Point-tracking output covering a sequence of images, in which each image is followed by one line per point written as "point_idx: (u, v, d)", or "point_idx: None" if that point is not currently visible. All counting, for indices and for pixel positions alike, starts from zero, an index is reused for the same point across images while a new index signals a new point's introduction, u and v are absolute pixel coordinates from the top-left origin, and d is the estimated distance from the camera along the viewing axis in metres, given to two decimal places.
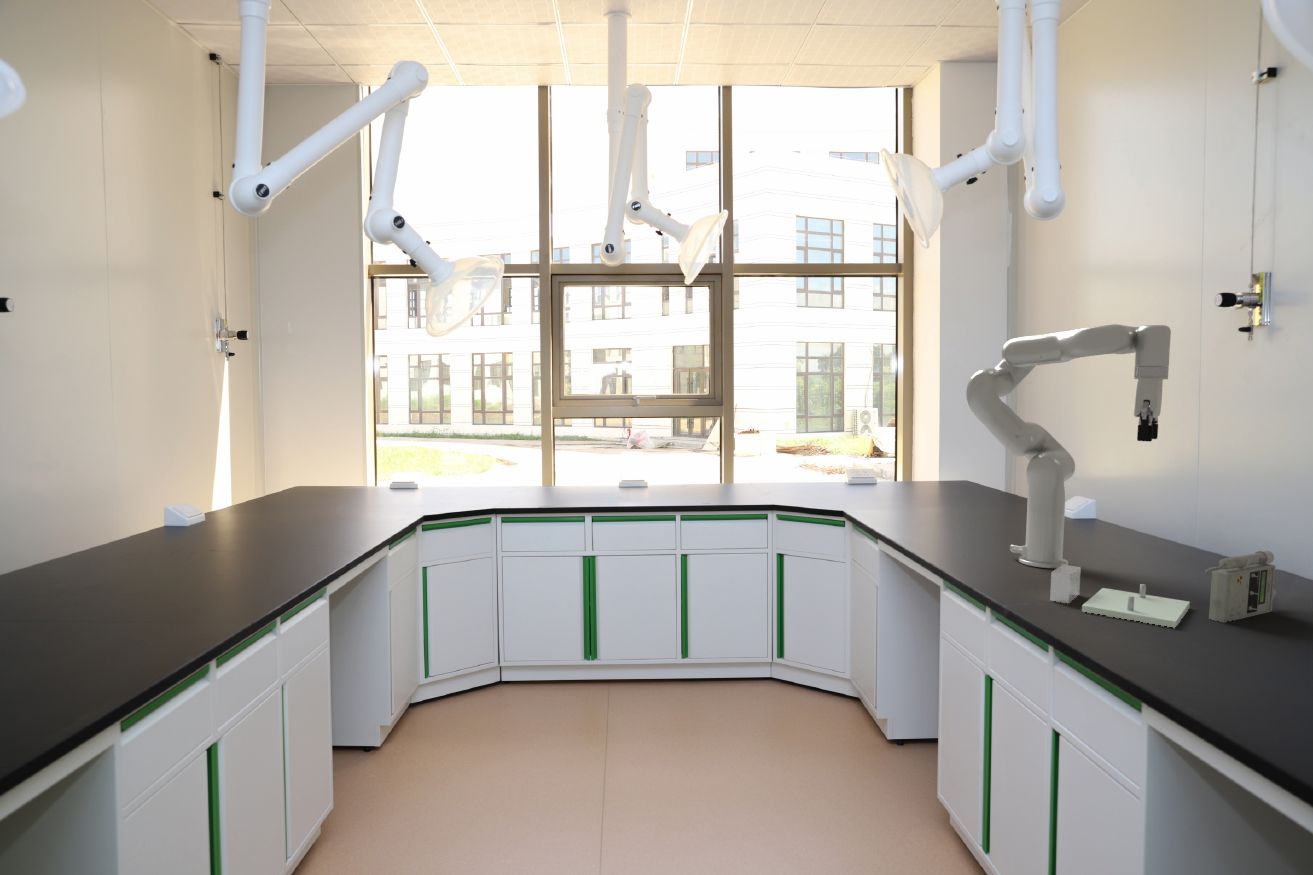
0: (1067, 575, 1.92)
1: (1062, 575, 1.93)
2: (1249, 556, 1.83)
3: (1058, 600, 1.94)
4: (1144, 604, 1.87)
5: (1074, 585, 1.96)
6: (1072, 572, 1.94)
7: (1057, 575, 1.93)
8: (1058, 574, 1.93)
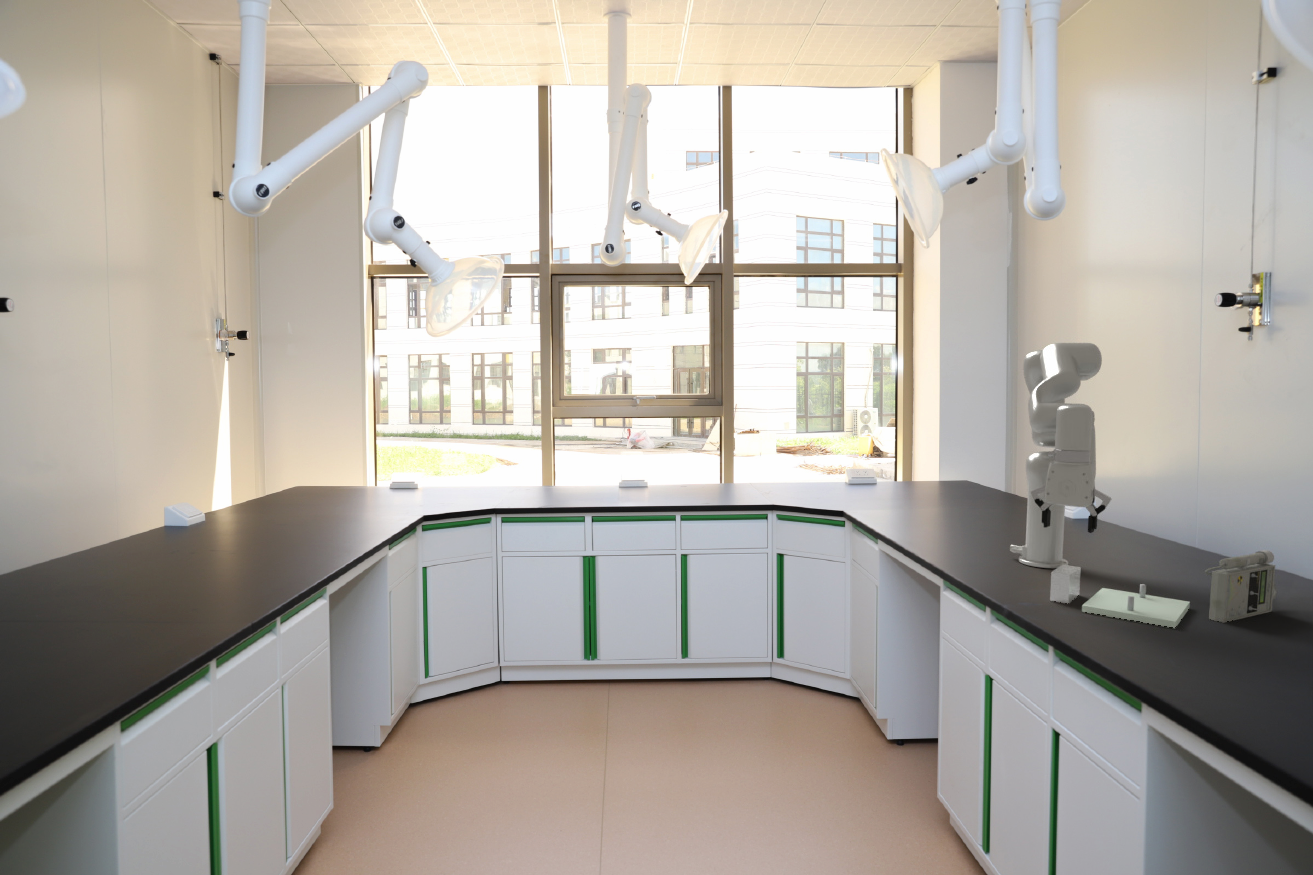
0: (1067, 575, 1.92)
1: (1062, 575, 1.93)
2: (1249, 556, 1.83)
3: (1058, 600, 1.94)
4: (1144, 604, 1.87)
5: (1074, 585, 1.96)
6: (1072, 572, 1.94)
7: (1057, 575, 1.93)
8: (1058, 574, 1.93)
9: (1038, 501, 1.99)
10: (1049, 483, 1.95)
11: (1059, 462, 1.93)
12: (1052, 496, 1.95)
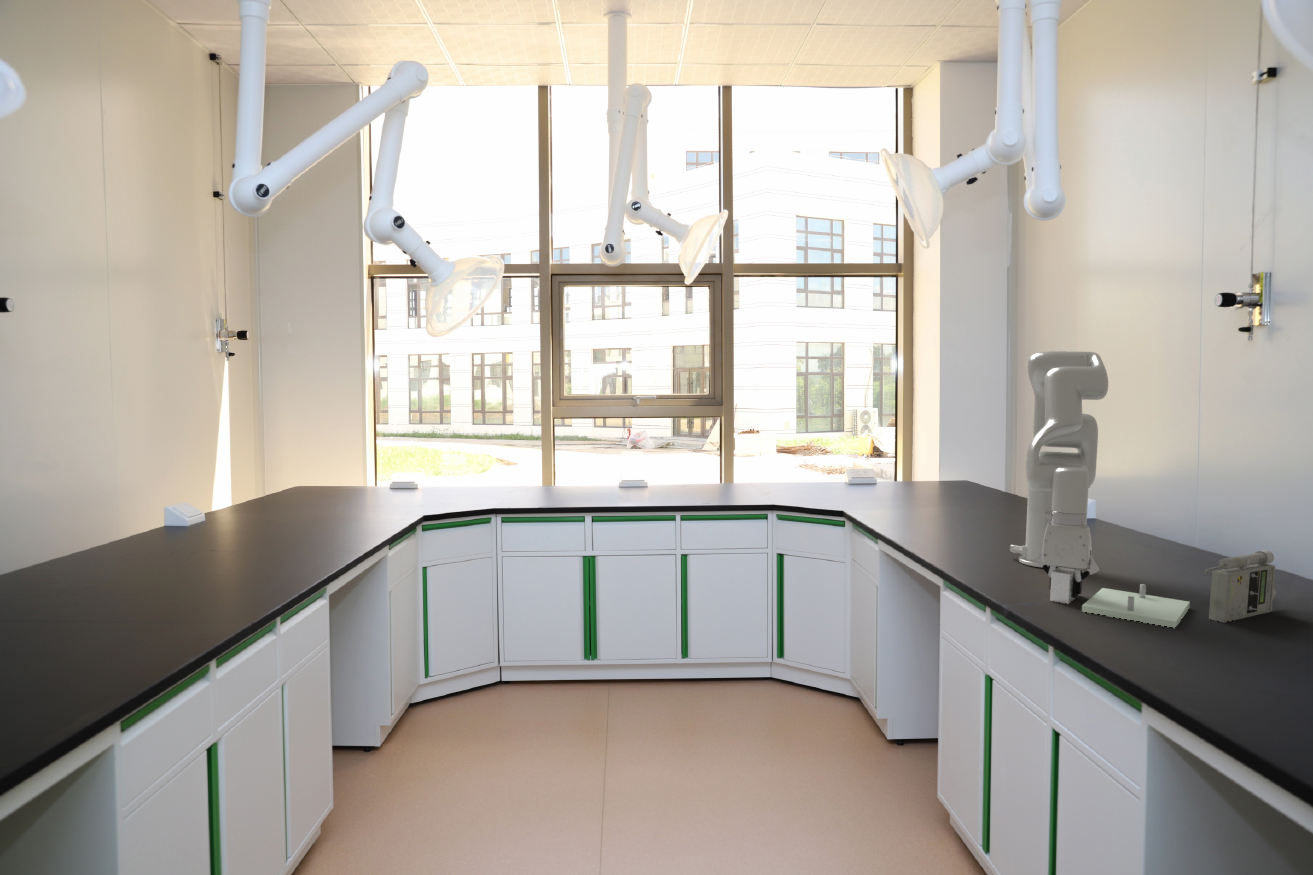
0: (1067, 575, 1.92)
1: (1062, 575, 1.93)
2: (1249, 556, 1.83)
3: (1058, 600, 1.93)
4: (1144, 604, 1.87)
5: None
6: (1072, 572, 1.94)
7: (1057, 575, 1.93)
8: (1058, 574, 1.93)
9: (1046, 567, 1.99)
10: (1046, 544, 1.97)
11: (1056, 524, 1.95)
12: (1049, 557, 1.96)
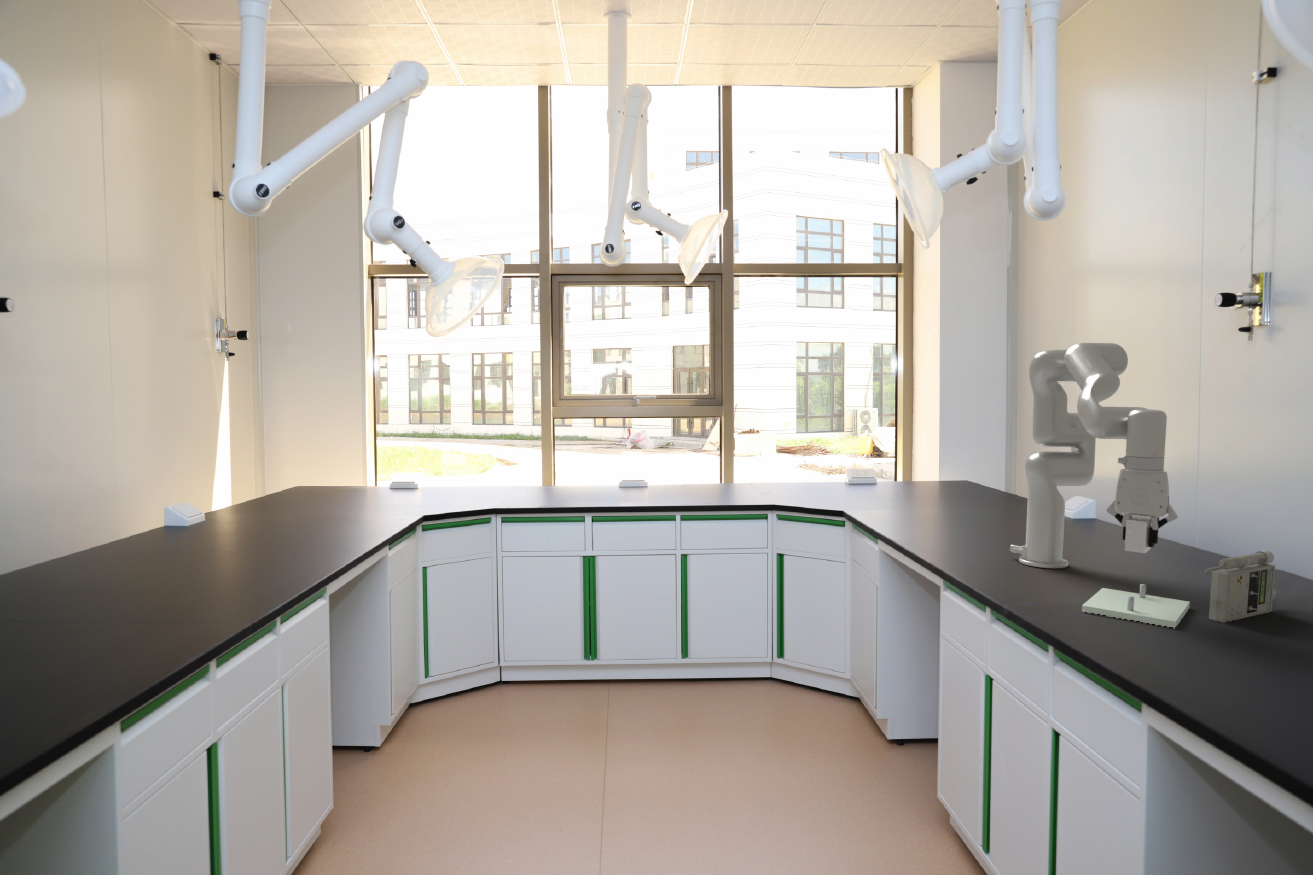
0: (1144, 522, 1.81)
1: (1138, 522, 1.82)
2: (1249, 556, 1.83)
3: (1134, 549, 1.83)
4: (1144, 604, 1.87)
5: None
6: (1148, 520, 1.83)
7: (1133, 523, 1.83)
8: (1134, 522, 1.82)
9: (1119, 516, 1.88)
10: (1120, 491, 1.86)
11: (1131, 469, 1.84)
12: (1123, 505, 1.86)
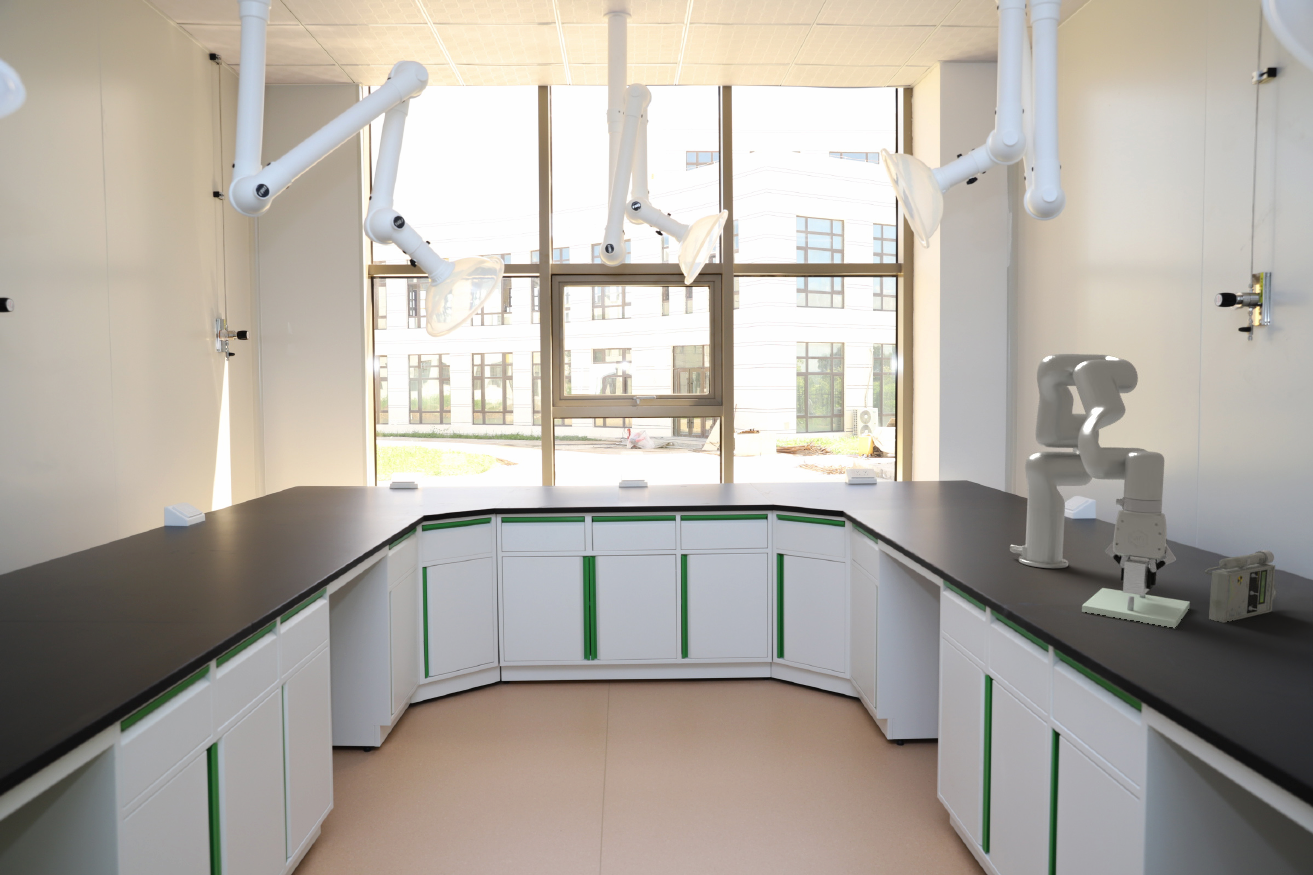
0: (1142, 565, 1.82)
1: (1136, 565, 1.82)
2: (1249, 556, 1.83)
3: (1132, 591, 1.83)
4: (1144, 604, 1.87)
5: None
6: (1147, 562, 1.84)
7: (1131, 565, 1.83)
8: (1132, 564, 1.83)
9: (1117, 557, 1.89)
10: (1118, 533, 1.87)
11: (1129, 511, 1.85)
12: (1121, 546, 1.86)
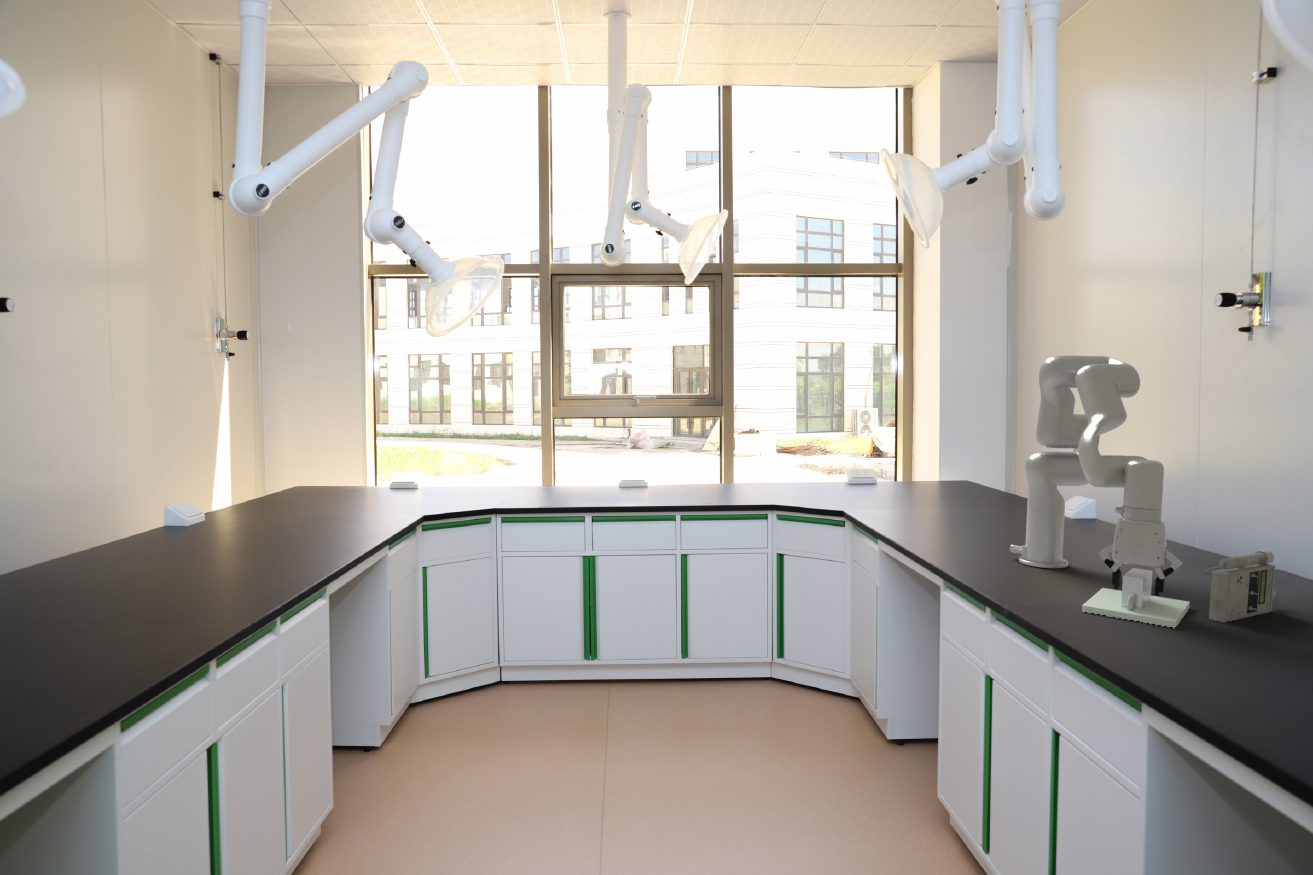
0: (1140, 579, 1.82)
1: (1135, 579, 1.83)
2: (1249, 556, 1.83)
3: None
4: None
5: (1147, 590, 1.86)
6: (1145, 576, 1.84)
7: (1129, 579, 1.84)
8: (1130, 578, 1.84)
9: (1108, 562, 1.90)
10: (1117, 541, 1.87)
11: (1129, 520, 1.85)
12: (1120, 555, 1.87)
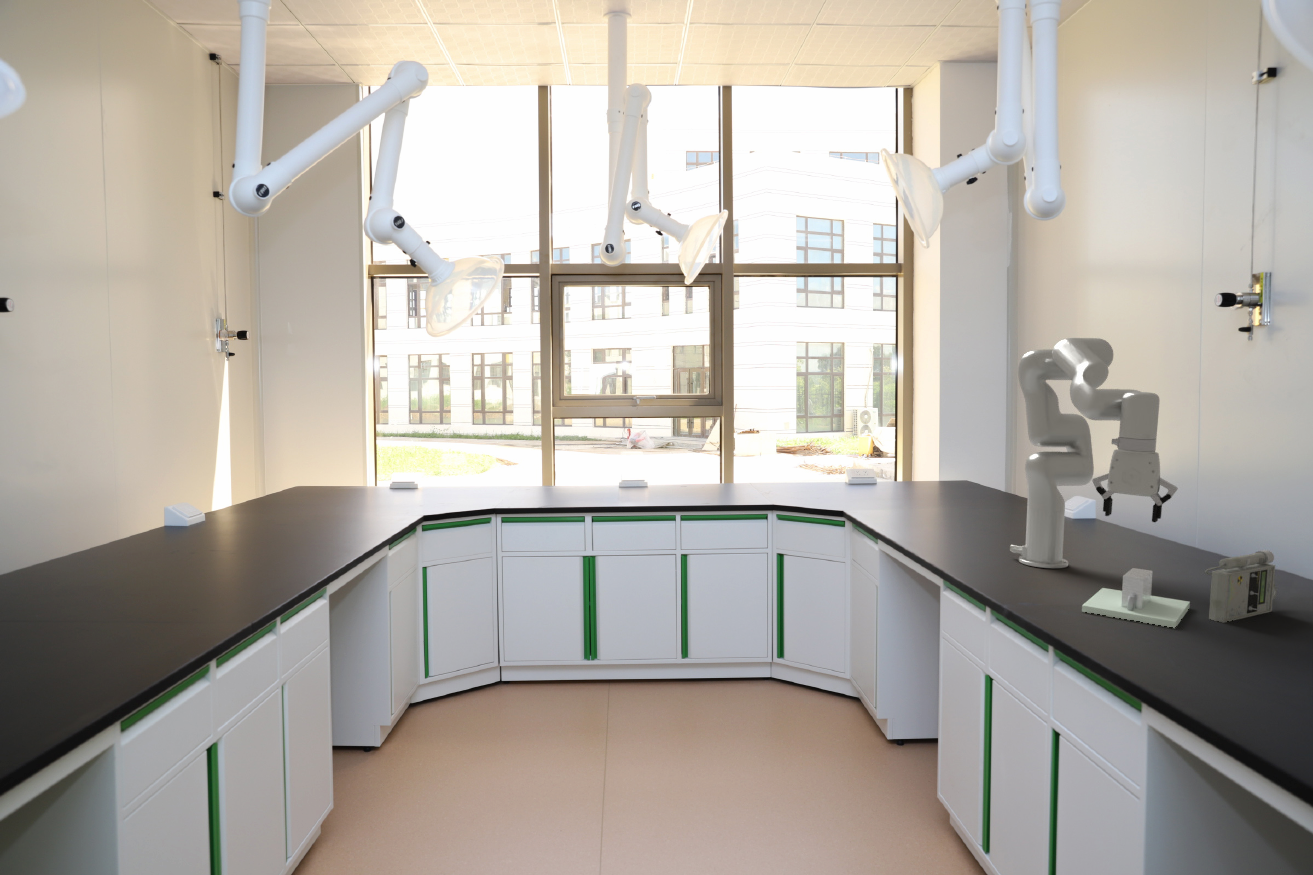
0: (1140, 579, 1.82)
1: (1135, 579, 1.83)
2: (1249, 556, 1.83)
3: None
4: None
5: (1147, 590, 1.86)
6: (1145, 576, 1.84)
7: (1129, 579, 1.84)
8: (1130, 578, 1.84)
9: (1100, 489, 1.96)
10: (1112, 471, 1.92)
11: (1124, 450, 1.90)
12: (1115, 485, 1.92)
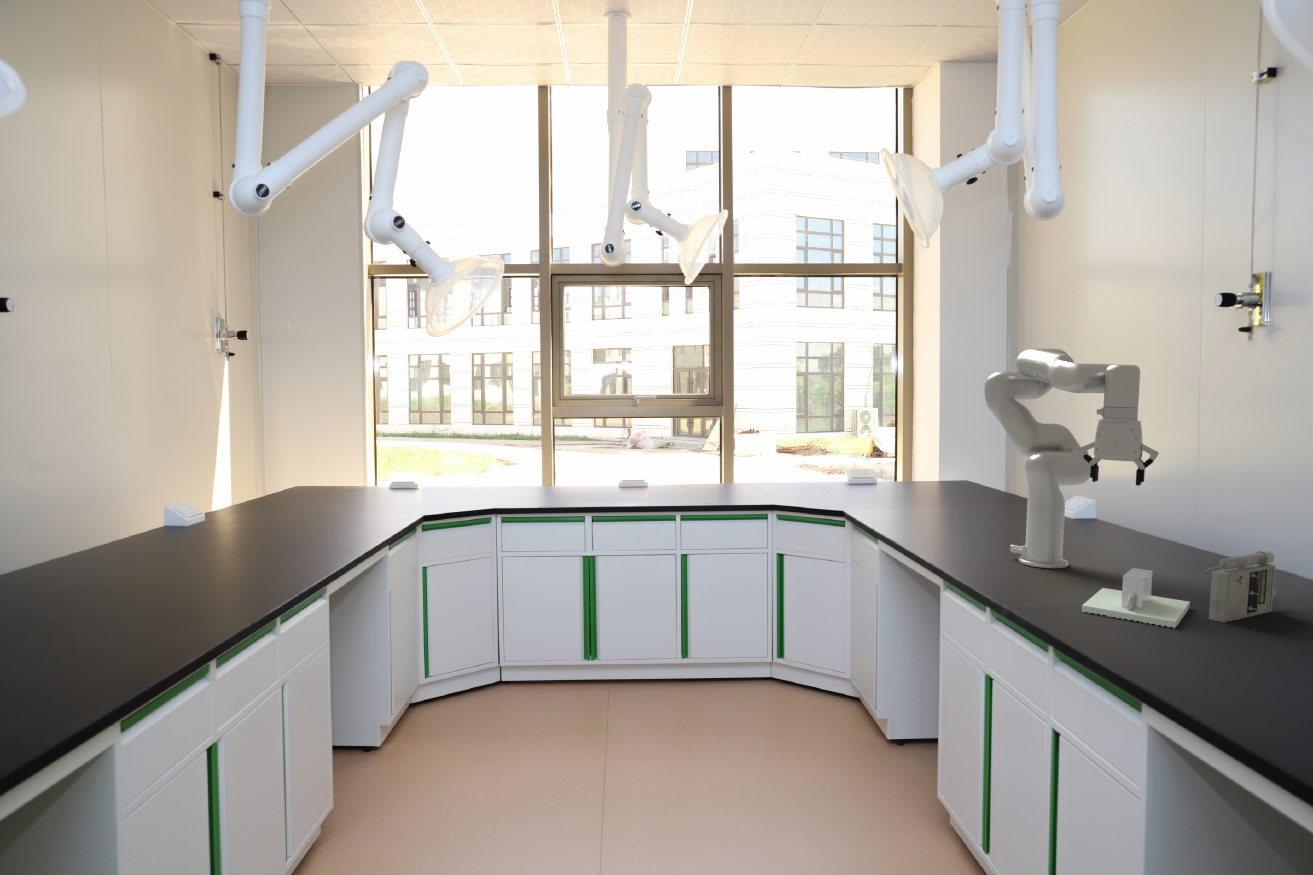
0: (1140, 579, 1.82)
1: (1135, 579, 1.83)
2: (1249, 556, 1.83)
3: None
4: None
5: (1147, 590, 1.86)
6: (1145, 576, 1.84)
7: (1129, 579, 1.84)
8: (1130, 578, 1.84)
9: (1087, 457, 2.09)
10: (1098, 439, 2.05)
11: (1108, 419, 2.03)
12: (1101, 451, 2.05)
